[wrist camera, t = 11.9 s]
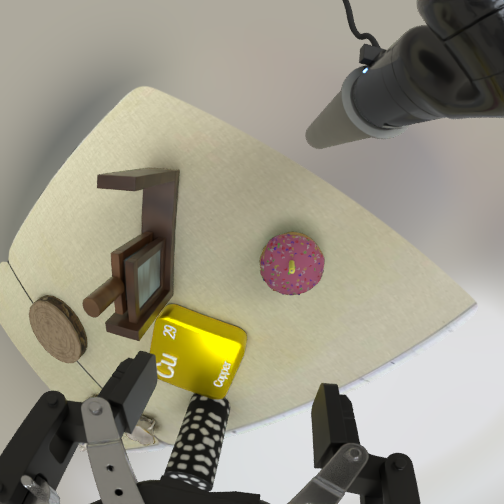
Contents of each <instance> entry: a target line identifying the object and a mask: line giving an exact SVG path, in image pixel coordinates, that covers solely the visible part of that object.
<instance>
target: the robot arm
mask: <svg viewBox="0 0 504 504" xmlns="http://www.w3.org/2000/svg"><path fill="white" fill-rule="evenodd" d="M343 3H344V6H345V9H346V14H347V19H348V23H349V27H350V29H351V31H352V33H353V34H354V35H355V37H356V38H358V39H361V40H363V39H369V40H370V42H371V43H372V46H371V45H368V44H364V45H363V46H362V48H361V49H360V59H359V63H361V64H365V65H367V66H366V67H365V68H364V69H363V71H362V74H361V75H360V76H359V77H358V78H357V79H356V80H355V81H354V83H353V85H352V87H351V91H350V100H351V105H352V107H353V110H354V112H355V113H356V115H357V116H358V117H359V119H360V120H361V121H363V122H364V123H365V124H366V125H368V126H370V127H372V128H374V129H377V130H391V129H401V128H398V127H402V126H406V125H411V124H415V123H420V122H425V121H430V120H435V119H440V118H446V117H447V118H451V119H462V118H476V117H477V118H479V117H480V118H481V117H489V118H495V117H496V118H504V0H417V9H418V12H419V14H420V15H421V17H422V18H423V20H424V21H425V22H426V24H427V25H421V26H416V27H413V28H411V29H409V30H408V31H407V32H405V33H404V34H403V35H402V36H401V37H400V38H399V39H398V40H397V41H396V42H395V43H394V44H393V45H392V46H391V47H390V48H389V49H388V50H385V49H381V48H380V46H379V44H378V42H377V41H376V39H375V38H374V37H373V36H372V35H371V34H369V33H363V34H360V33H359V32H358V31H357V29H356V26H355V23H354V19H353V14H352V9H351V6H350V3H349V1H348V0H343ZM157 378H158V376H157V366H156V356H155V355H154V354H151V353H147V352H144V351H139V352H138V354H137V355H136V357H135V358H134V359H131V358H128V359H126V360H124V361H123V362H121V363H120V365H119V366H118V367H117V369H116V371H115V372H114V373H113V374H112V377H110V379H109V380H108V382H107V383H106V384H105V386H104V387H103V389H102V390H101V392H100V393H99V394H98V396H97V397H91V398H88V399H87V400H85V401H84V402H74V401H67V400H66V399H65V397H64V395H63V394H62V393H60V392H58V391H48V392H46V393H44V394H43V395H42V396H41V397H40V399H39V400H38V402H37V403H36V404H35V406H34V407H33V408H32V410H31V411H30V413H29V414H28V416H27V417H26V419H25V420H24V421H23V423H22V424H21V426H20V427H19V428H18V430H17V431H16V433H15V434H14V436H13V437H12V439H11V440H10V442H9V443H8V445H7V447H6V448H5V449H4V451H3V453H2V454H1V456H0V504H60V498H59V496H58V494H57V493H56V488H57V486H58V484H59V482H60V480H61V478H62V476H63V474H64V472H65V470H66V468H67V466H68V464H69V462H70V460H71V458H72V456H73V454H74V452H75V450H76V448H77V446H78V445H79V443H87V445H86V447H87V452H88V456H89V460H90V464H91V468H92V471H93V475H94V478H95V482H96V485H97V488H98V491H99V494H100V497H101V499H100V500H98V501H95V502H93V503H91V504H270V503H268V502H265V501H263V500H260V494H252V493H244V492H237V491H235V492H234V491H233V492H208V491H205V490H203V489H200V488H198V487H196V486H194V485H192V484H189V483H187V482H185V481H181V480H177V479H174V478H170V477H167V476H163V475H162V477H161V479H160V480H147V481H142V482H138V481H137V479H136V476H135V474H134V472H133V469H132V467H131V464H130V462H129V459H128V456H127V453H126V450H125V448H124V445H123V442H122V439H121V437H122V435H123V433H124V432H126V433H128V434H132V432H133V430H134V428H135V426H136V424H137V422H138V421H139V419H140V417H141V415H142V413H143V411H144V409H145V407H146V405H147V403H148V401H149V399H150V397H151V395H152V393H153V391H154V389H155V387H156V384H157ZM311 417H312V433H313V449H314V468H321V469H322V470H321V471H320V472H319V473H318V474H317V475H316V476H315V477H314V478H313V479H312V480H311V481H310V482H309V483H308V484H307V485H306V486H305V487H304V488H303V489H302V490H301V491H300V492H299V493H298V494H297V495H296V496H295V497H294V498H293V499H292V500H291V501H290V502H289V503H288V504H338V502H339V501H340V500H341V499H342V497H343V496H344V493H345V492H350V493H355V494H359V495H360V504H420V498H419V493H418V487H417V482H416V478H415V473H414V468H413V464H412V461H411V459H410V458H409V457H408V456H407V455H405V454H402V453H394V454H391V455H390V456H389V457H387V458H384V457H379V456H374V455H371V454H369V453H368V452H367V450H366V449H365V448H364V447H363V446H361V445H360V442H359V436H358V431H357V427H356V422H355V419H354V418H355V417H354V413H353V408H352V403H351V401H350V400H349V399H348V397H347V396H346V395H339V389H338V385H337V384H328V383H321V385H320V387H319V390H318V392H317V395H316V397H315V400H314V402H313V405H312V411H311Z"/></svg>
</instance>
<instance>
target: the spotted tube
mask: <svg viewBox="0 0 504 504" xmlns="http://www.w3.org/2000/svg"><path fill="white" fill-rule="evenodd" d="M229 411H230V404H229V402H228V401H227V399H225V398H222V399H219V400H216V399H211V398H208V397H205V396H202V395H199V394H196V393H195V394H194V395H193V396H192V398H191V401H190V404H189V406H188V409H187V412H186V415H185V417H184V420H183V423H182V426H181V428H180V431H179V434H178V437H177V439H176V442H175V445H174V448H173V450H172V453H171V456H170V459H169V461H168V464H167V467H166V470H165V473H164V476H167V477H170V478H174V479H177V480H181V481H185V482H187V483H189V484H192V485H194V486H196V487H198V488H200V489H203V490H205V491H211V490H212V487H213V483H214V479H215V474H216V469H217V466H218V461H219V457H220V452H221V448H222V443H223V439H224V434H225V430H226V425H227V421H228V416H229Z"/></svg>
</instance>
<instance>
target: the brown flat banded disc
mask: <svg viewBox="0 0 504 504" xmlns="http://www.w3.org/2000/svg"><path fill="white" fill-rule="evenodd" d="M29 318H30V324H31V327H32V329H33V332H34V334H35V336H36V337H37V339H38V341H39V342H40V344H41V345H42V346H43V347H44V349H45V350H46V351H47V352H49V353H50V354H51V355H52V356H53V357H55V358H56V359H58V360H60V361H62V362H65V363H74V362H76V361H77V360H78V359H79V358H80V357H81V356H82V355H83V354H84V352H85V350H86V348H87V337H86V334H85V331H84V328H83V326H82V324H81V322H80V321H79V319H78V317H77V316H76V315H75V313H74V312H73V311H72V310H71V308H70V307H68V306H67V305H66V304H65V303H64V302H63V301H61V300H60V299H58V298H56V297H54V296H48V295H47V296H44V297H41V298H40V299H38V300H37V301H36V302H34V303H33V304H32V306H31V307H30V311H29Z"/></svg>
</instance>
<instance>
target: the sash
mask: <svg viewBox="0 0 504 504" xmlns="http://www.w3.org/2000/svg"><path fill="white" fill-rule="evenodd" d="M152 241H153V232H147V231H146V232H144V233H142V234H141V235H139V236H137V237H136V238H134V239H132V240H131V241H129V242H127V243H126V244H124V245H123V246H121V247H119V248H118V249H116V250H115V251H113V252H112V253H111V266H112V277H111V278H110V279H109V280H107V281H106V282H105V283H103V284H102V285H101V286H100V287H98V288H97V289H96V290H95V291H94V292H92V293H91V294H90V295H89V296H87V297H86V298H85V299H84V300H83V308H84V310H85V312H86V313H87V314H88V315H89V316H91V317H98V316H99V315H100V314H101V313H102V312H103V311H104V310H105V309H106V308H107V307H108V306H109V305H110V304H111V303H113V302H114V303H115V312H116V313H117V314H121V315H123V314H124V313H125V312H126V311H127V310H128V305H127V292H126V275H125V261H126V260H127V259H129V258H130V257H131V256H133V255H134V254H135V253H137V252H138V251H140V250H141V249H142V248H144V247H145V246H147V245H148V244H150V243H151V242H152Z"/></svg>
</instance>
